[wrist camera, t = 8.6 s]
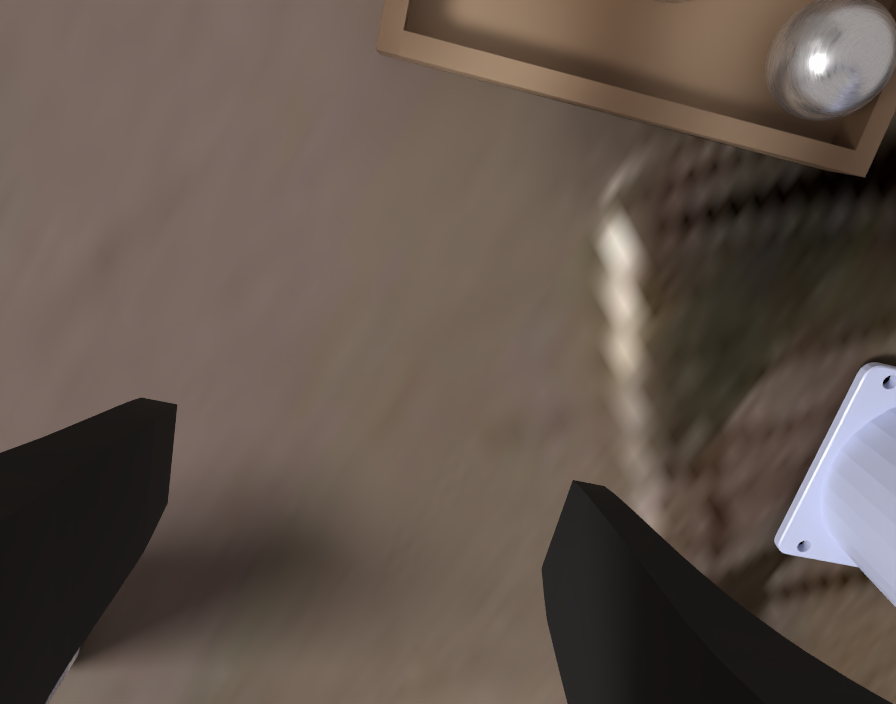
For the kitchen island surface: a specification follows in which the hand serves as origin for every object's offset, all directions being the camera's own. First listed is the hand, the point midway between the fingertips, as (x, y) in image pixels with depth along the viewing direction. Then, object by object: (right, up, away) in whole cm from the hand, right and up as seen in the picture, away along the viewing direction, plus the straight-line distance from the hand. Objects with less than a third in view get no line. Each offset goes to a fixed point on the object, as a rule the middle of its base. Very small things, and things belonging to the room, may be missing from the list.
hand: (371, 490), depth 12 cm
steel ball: (+11, +10, +5) cm, 16 cm away
